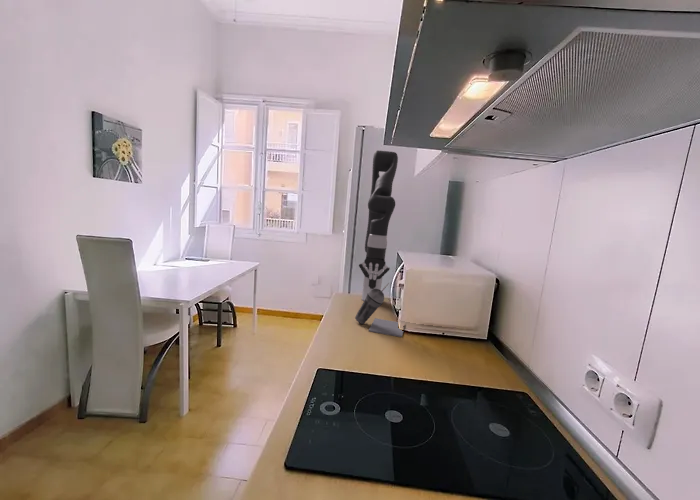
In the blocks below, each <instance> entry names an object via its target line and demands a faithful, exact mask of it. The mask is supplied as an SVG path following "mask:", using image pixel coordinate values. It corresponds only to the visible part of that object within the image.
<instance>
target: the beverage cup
mask: <svg viewBox="0 0 700 500" xmlns="http://www.w3.org/2000/svg"><path fill="white" fill-rule="evenodd" d="M389 284H390V282H387V284H386V285H385V286H384V287H383V288H381V290H379V289H373V290H371V291H370V292H369V293H367V296H366V299H365V301H363V302H362V304H361V306H360V308H359V309H358V311H357V313H356V316H355V317H354V319H355V320H356V321H357V322H358V323H359V324H361V325H364V324H365V323H367V321H368V320H369V319H370V318H371V317H372V315H373V314H374V313H375V312H376V311H377V309H378V308H379V307H381V306H382V305H383V303H384V300H385V294H384V292H383V291H384V290H385V289H386V287H387V286H388V285H389Z"/></svg>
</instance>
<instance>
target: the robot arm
mask: <svg viewBox="0 0 700 500" xmlns="http://www.w3.org/2000/svg"><path fill="white" fill-rule="evenodd" d="M372 158H373V159H372V175H371V176H372V177H371V190H370V197H369V199H368V202H367V209H368V220H367V221H368V222H367V229H366V235H365V242H364V252H365V255H366V256H365V259H364V260H363V262H362V263H361V262H360V263H359V264H358V267H359V268H360V270H361V272H362V274H363V286H362V292H361V293H362V294H361V300H362V301H363V302H364V301H365V299H366V296H367V293H369V292H370V291H371V290H373V289H379V290H381V291H382V283H383V277H384V276H385V275H386V274H387V273H388V272H390V270H391V268H390V266H388V265H387V264H386V259H385V258H386V253H387V246H388V239H387V238H388V230H389V224H390V220H391V218H392V216H393V213H394V210H395V207H396V200H395V199H394V197H392V193H393V192H392V191H393V184H394V179H395V176H396V172H397V170H398V169H397V168H398V162H399V161H398V160H399V157H398V153H397V152H395V151H390V150H389V151H388V150H375V152H374V154H373V157H372ZM381 172H382V174H381V175H380V173H381Z"/></svg>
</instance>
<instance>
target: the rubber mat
mask: <svg viewBox="0 0 700 500" xmlns="http://www.w3.org/2000/svg"><path fill="white" fill-rule="evenodd" d="M398 322H399V321H395V320H389V319H388V320H387V319H382V318H376V317H375V318H374V319H373V321H372V323H371V325H370V327H368V332H370V333H377V334H380V335H386V336H393V337H399V338H402V337H403V334H404V331H402V330H400V329H399V328H398Z"/></svg>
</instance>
